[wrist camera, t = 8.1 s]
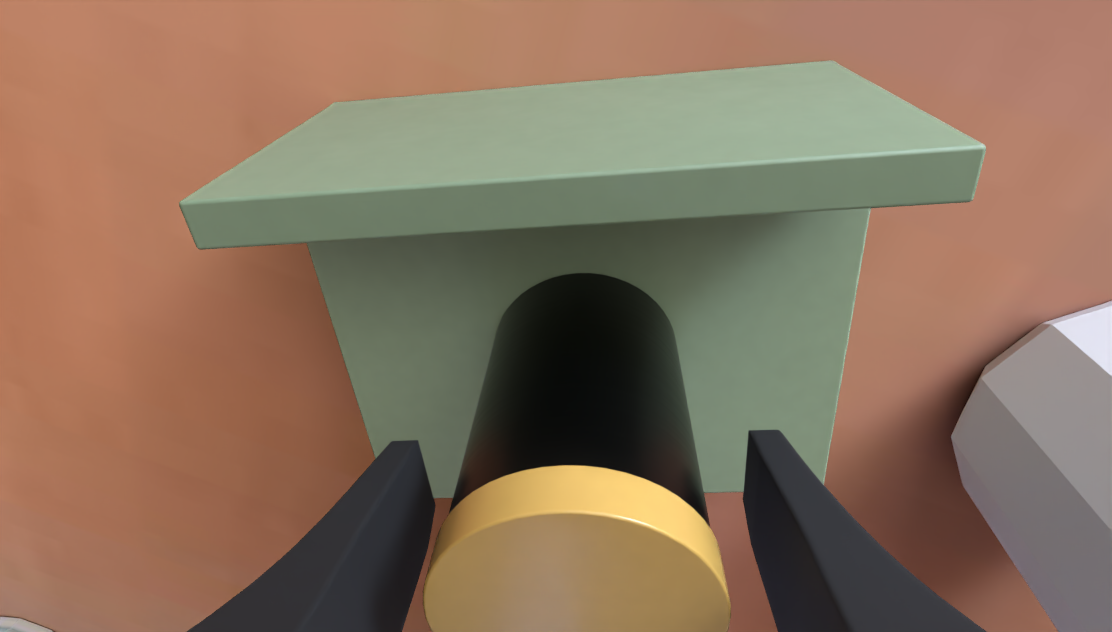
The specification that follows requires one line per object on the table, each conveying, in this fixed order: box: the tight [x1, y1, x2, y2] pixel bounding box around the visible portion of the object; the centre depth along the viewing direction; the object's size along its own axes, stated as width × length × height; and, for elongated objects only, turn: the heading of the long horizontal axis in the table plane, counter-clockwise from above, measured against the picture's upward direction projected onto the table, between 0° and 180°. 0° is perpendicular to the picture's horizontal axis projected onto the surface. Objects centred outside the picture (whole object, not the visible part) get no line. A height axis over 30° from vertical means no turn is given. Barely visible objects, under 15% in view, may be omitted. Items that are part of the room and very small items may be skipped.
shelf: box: [179, 61, 986, 498], centre depth 17 cm, size 12×14×8 cm
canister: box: [423, 273, 731, 632], centre depth 14 cm, size 5×5×8 cm
